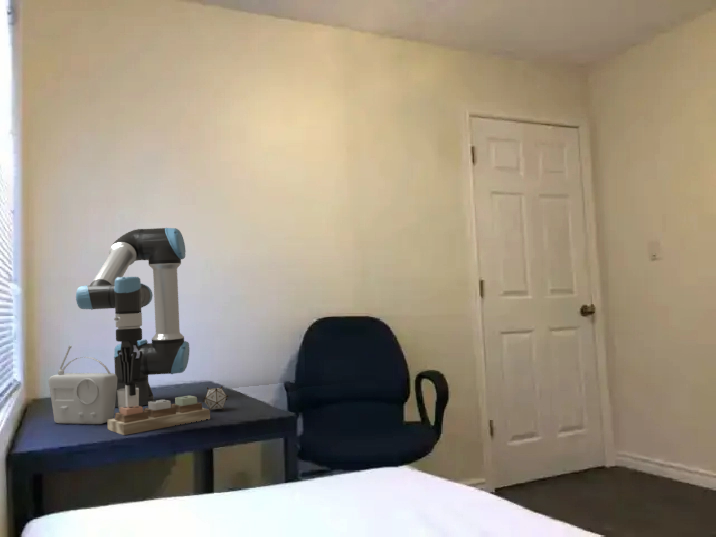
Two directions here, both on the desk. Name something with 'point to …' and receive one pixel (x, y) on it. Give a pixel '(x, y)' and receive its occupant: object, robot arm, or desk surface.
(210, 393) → the game die
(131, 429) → the button console
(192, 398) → the button one dot
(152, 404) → the button two dots
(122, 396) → the drinking glass
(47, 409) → the desk surface
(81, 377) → the radio
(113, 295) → the robot arm
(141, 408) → the button three dots
